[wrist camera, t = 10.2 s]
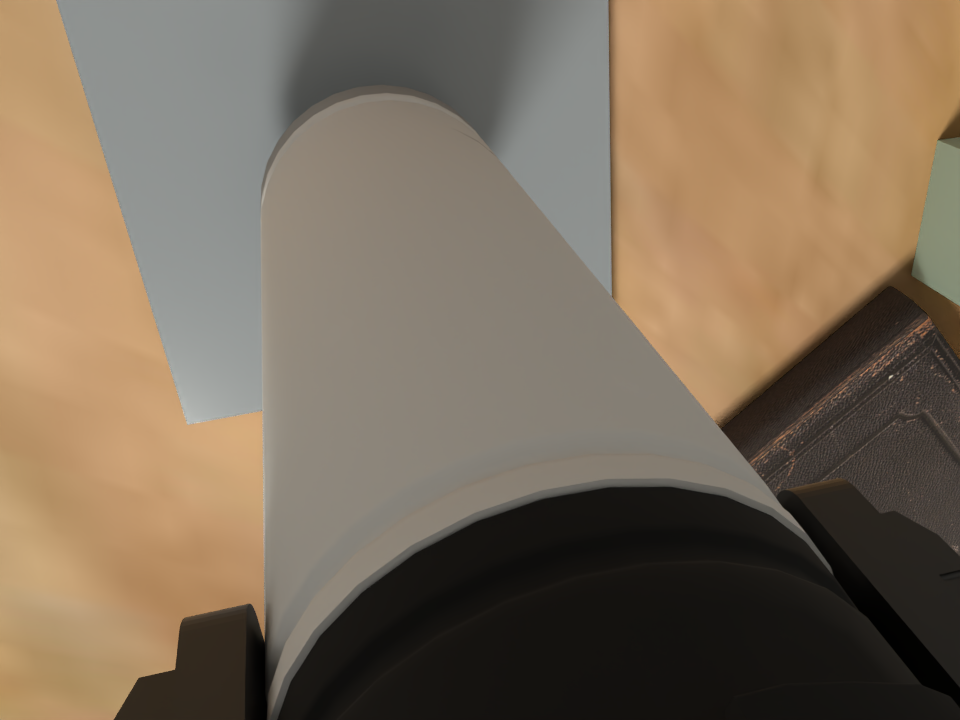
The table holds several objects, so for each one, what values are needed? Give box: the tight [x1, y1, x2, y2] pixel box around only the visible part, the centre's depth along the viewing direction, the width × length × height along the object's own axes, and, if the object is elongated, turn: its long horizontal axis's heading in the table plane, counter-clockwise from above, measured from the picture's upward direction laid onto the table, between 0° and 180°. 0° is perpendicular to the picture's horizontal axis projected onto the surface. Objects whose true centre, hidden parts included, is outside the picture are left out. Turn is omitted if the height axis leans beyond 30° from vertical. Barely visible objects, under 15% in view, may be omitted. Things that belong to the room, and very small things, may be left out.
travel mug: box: [261, 85, 960, 720], centre depth 15 cm, size 6×7×20 cm
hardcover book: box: [721, 287, 960, 556], centre depth 38 cm, size 16×23×2 cm
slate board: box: [56, 0, 612, 425], centre depth 25 cm, size 14×14×1 cm
